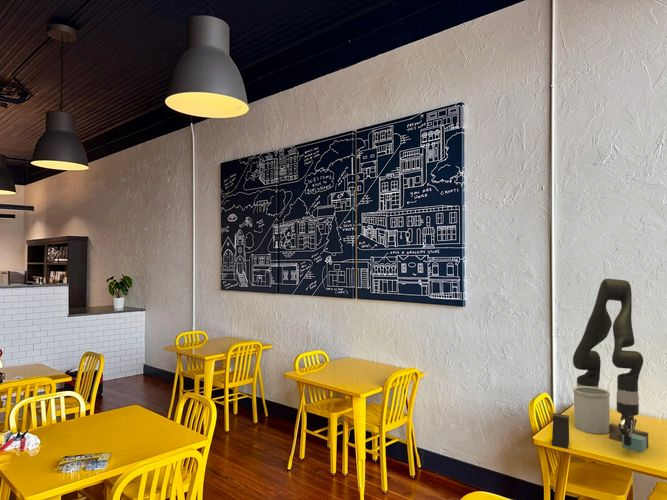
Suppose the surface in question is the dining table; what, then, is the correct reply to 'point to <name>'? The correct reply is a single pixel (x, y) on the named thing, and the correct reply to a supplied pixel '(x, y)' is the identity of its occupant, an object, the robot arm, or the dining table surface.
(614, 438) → the walnut board
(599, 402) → the utensil holder
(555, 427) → the phone stand
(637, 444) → the teal block
